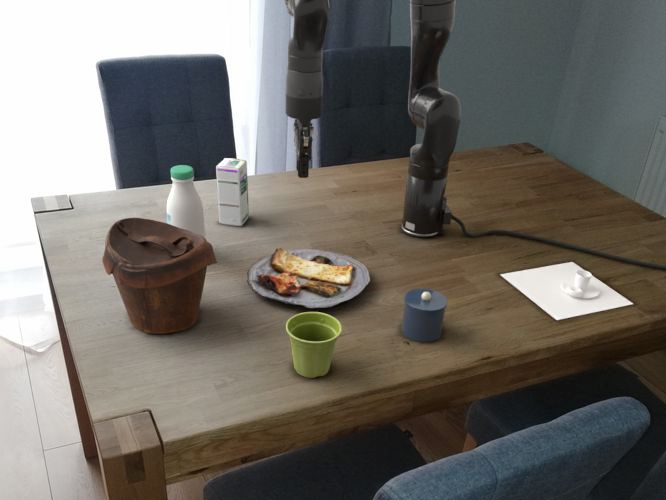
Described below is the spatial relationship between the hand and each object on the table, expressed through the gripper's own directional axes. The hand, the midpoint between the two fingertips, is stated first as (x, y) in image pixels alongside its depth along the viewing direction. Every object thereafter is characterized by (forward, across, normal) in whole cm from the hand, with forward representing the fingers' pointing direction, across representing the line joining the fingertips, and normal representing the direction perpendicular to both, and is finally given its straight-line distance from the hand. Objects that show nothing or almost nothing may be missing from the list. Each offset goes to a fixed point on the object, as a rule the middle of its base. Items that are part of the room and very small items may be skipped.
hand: (302, 173), depth 154 cm
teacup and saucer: (+17, -22, -55) cm, 62 cm away
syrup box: (+17, +14, +15) cm, 27 cm away
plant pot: (+17, -48, +2) cm, 51 cm away
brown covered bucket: (+17, -30, +28) cm, 45 cm away
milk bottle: (+17, -5, +25) cm, 31 cm away
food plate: (+17, -18, 0) cm, 25 cm away
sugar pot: (+17, -37, -20) cm, 45 cm away
